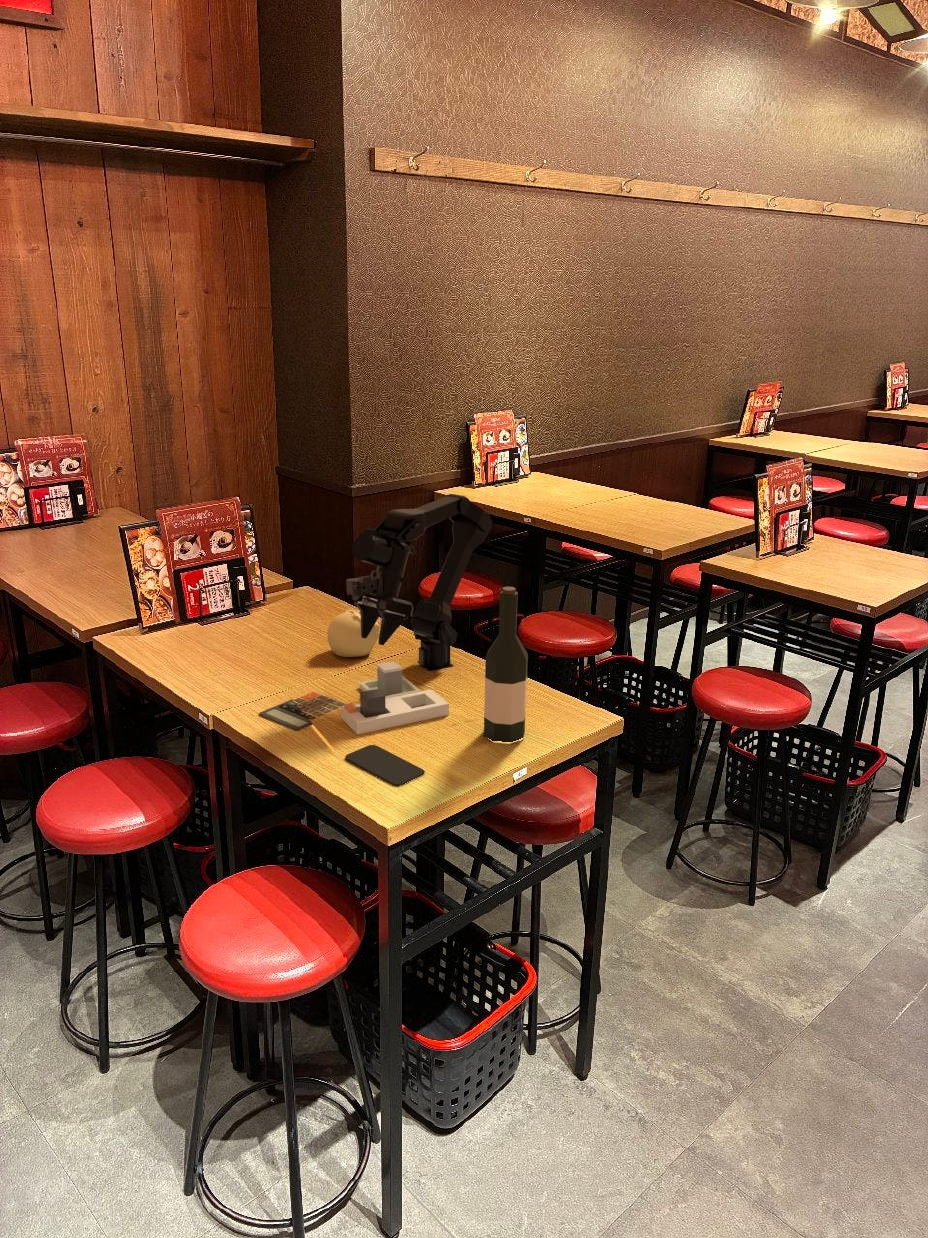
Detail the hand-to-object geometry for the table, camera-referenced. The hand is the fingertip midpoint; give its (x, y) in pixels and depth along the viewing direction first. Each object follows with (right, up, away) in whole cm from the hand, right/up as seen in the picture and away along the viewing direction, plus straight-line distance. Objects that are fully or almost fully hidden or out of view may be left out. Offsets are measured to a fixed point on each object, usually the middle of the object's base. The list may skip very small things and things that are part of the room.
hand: (372, 641), depth 190 cm
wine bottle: (+27, -18, -13) cm, 35 cm away
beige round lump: (-7, -4, +27) cm, 28 cm away
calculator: (-13, -15, -4) cm, 20 cm away
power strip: (+6, -16, -8) cm, 18 cm away
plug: (+3, -11, +4) cm, 12 cm away
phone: (+5, -23, -26) cm, 35 cm away
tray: (+3, -11, +4) cm, 13 cm away
